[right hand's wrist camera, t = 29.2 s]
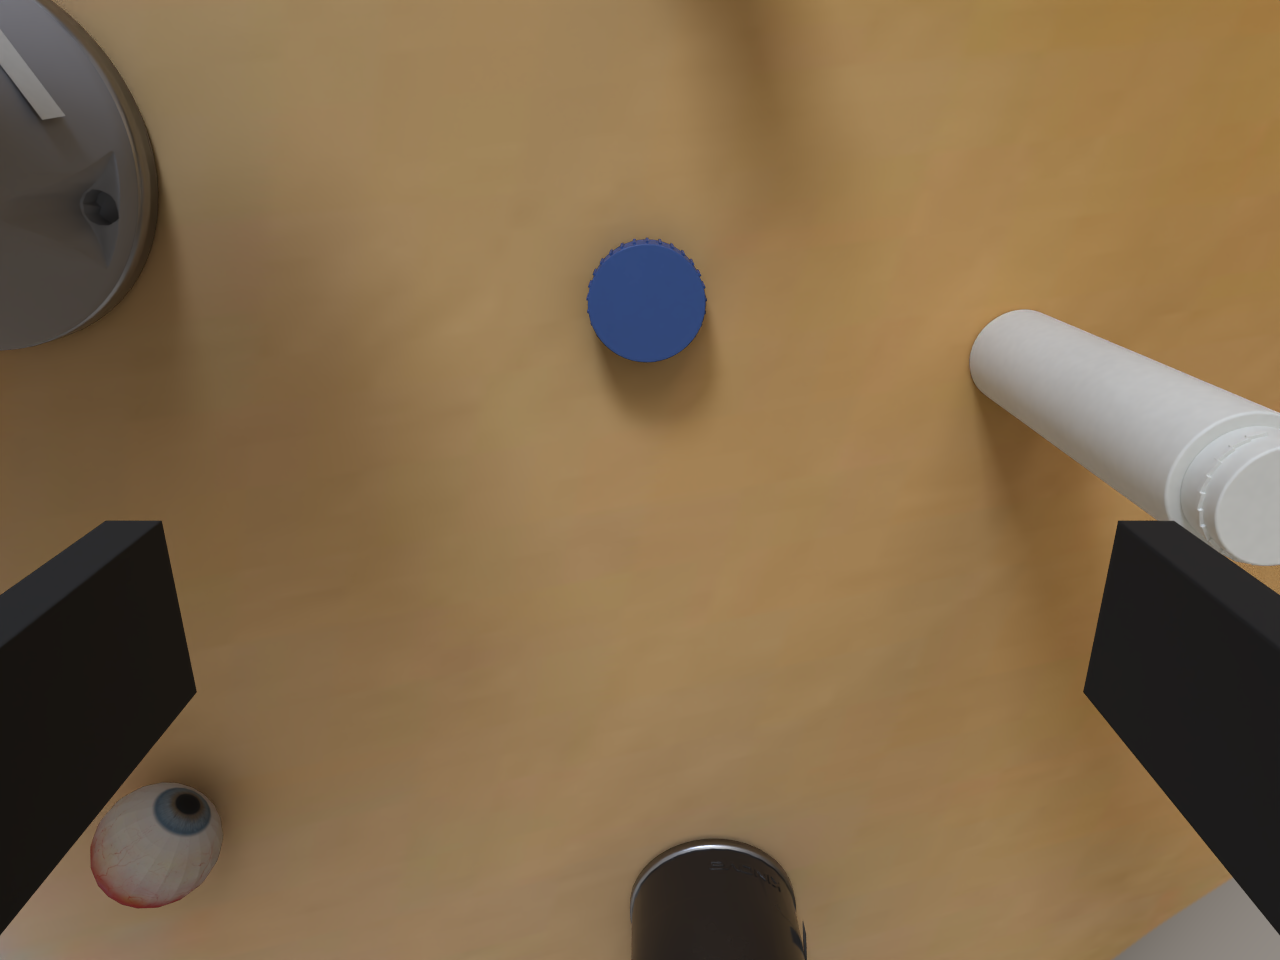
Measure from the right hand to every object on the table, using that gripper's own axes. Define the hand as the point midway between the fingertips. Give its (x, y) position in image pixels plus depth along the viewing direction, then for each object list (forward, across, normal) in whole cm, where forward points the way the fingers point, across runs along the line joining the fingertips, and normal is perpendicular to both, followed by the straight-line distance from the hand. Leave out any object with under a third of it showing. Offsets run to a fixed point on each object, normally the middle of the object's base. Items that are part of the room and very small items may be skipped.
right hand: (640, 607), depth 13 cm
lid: (+27, 0, 0) cm, 27 cm away
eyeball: (+29, -25, -28) cm, 47 cm away
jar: (+29, +17, -3) cm, 33 cm away
